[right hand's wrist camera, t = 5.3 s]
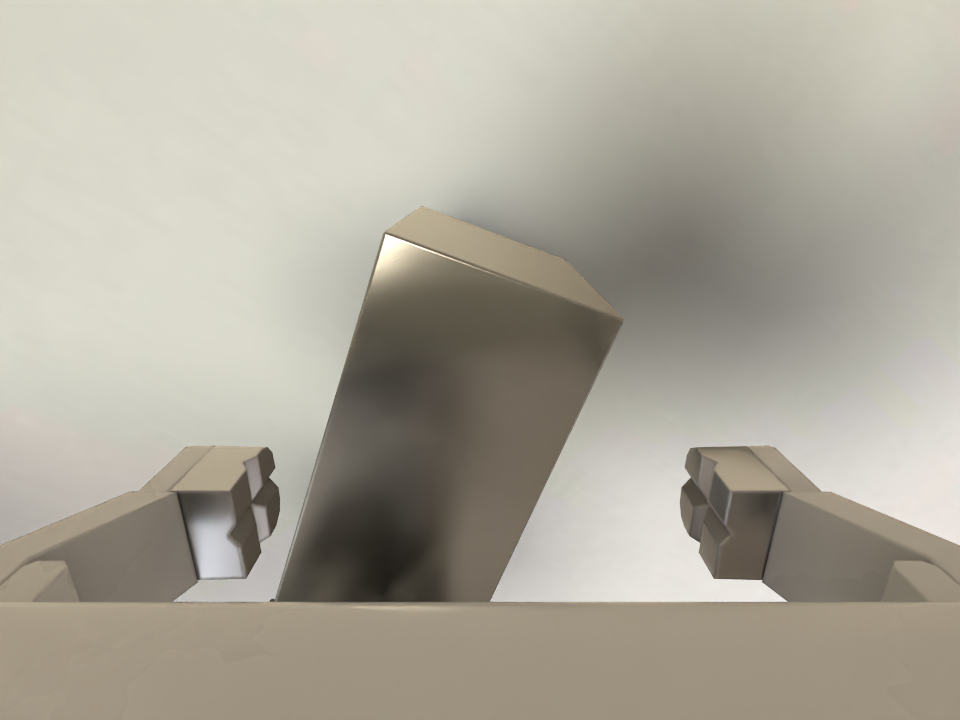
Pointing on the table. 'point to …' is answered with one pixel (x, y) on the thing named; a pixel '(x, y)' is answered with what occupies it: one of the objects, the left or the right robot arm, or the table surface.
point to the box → (445, 416)
